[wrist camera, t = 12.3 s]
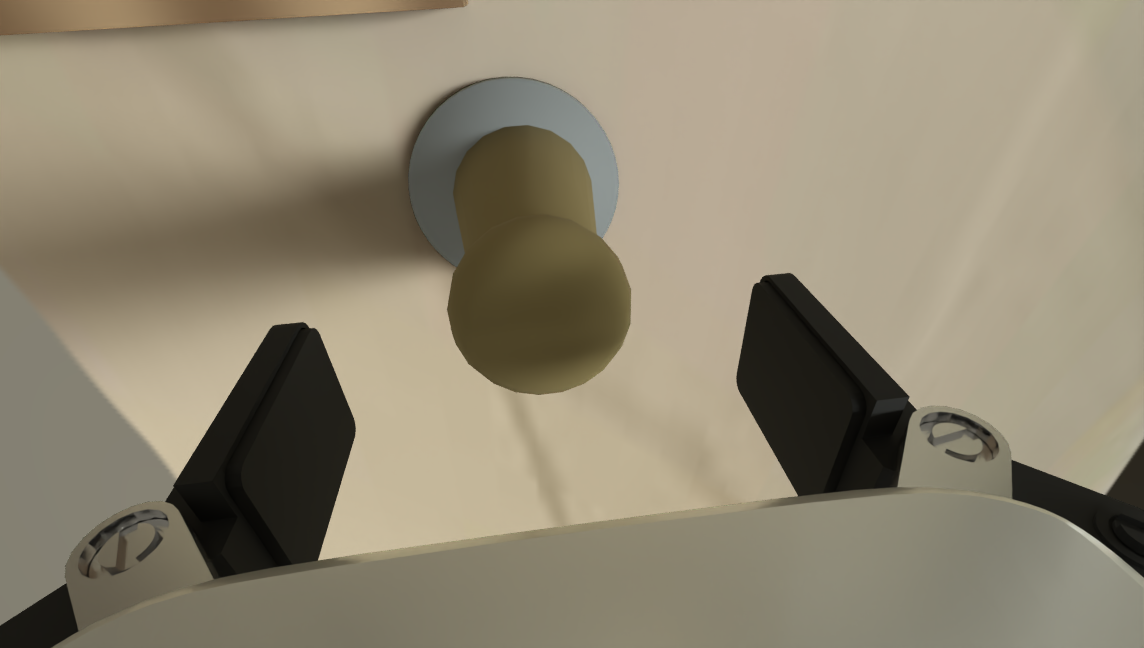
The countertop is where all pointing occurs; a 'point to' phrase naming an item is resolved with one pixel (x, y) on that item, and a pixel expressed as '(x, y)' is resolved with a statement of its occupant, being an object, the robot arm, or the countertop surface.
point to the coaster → (482, 115)
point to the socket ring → (180, 12)
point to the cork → (533, 266)
